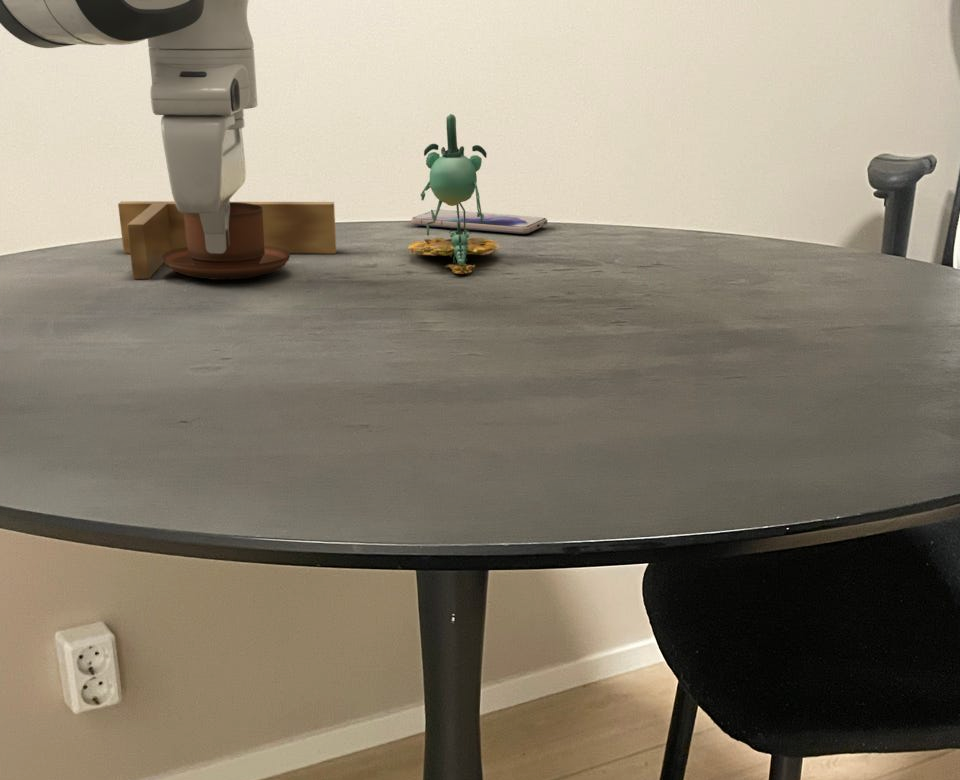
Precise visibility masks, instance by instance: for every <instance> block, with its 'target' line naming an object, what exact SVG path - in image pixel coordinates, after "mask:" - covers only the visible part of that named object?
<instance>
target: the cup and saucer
mask: <svg viewBox="0 0 960 780" xmlns="http://www.w3.org/2000/svg"><path fill="white" fill-rule="evenodd" d="M233 202H234V201H230V217H229V241H230V245H229V247H228V248H227V249H226V251H225V252H224V253H222V254H210V253H209V252H207V250H206V243H205V233H204V230H203V226H202V223H201V219H200V216H199V213H184V220H185V230H186V239H187V247H183V248H178V249H174V250H171V251H168V252H166V253H164V254H163V256H162V257H163V260H164V263H163V264H165V265H167V266H168V268H169V269H171V270H172V271H174V272H176V273H178V274H180V275H181V274H182V275H185V276H189V277H193V278H200V279H207V280H239V279H249V278H254V277H259V276H264V275H268V274H271V273H274V272H276V271H278V270H280V269H281V268H283V267H284V266H285V265H286V264H287V262H288V261H289V260H290V257H291V254H290V253H289V251H287V250H285V249H283V248H279V247H274V246H268V245H264V230H263V210H262V207H261V206H259V205H255V204H249V203H233Z"/></svg>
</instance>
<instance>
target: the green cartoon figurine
mask: <svg viewBox="0 0 960 780" xmlns="http://www.w3.org/2000/svg"><path fill="white" fill-rule="evenodd" d="M445 121H446V141H447V142H446V143H447V149H446V148H445V146H442V147H441V148H440V153H441V154H440V153H438V152H436V151H438V150H439V147H440V146H439V145H438V144H437V143H430V144H428V145H427V146H426V147H425V149H424V151H423V156H424V157H425V156H427V157H426V159H425V165H426V167H427V168H428V169H430V170H429V180H428V182H427V184H426V185H425V186H424V188H423V190H422V192H421V193H420V198H421V201H424V200H425V198H426V191H428V190H429V189H431V192H432V194H433V196H435V198H436V199H437V200H438V202H437V207H436V209H435V210H436V214H435V215H434V213H433V210H434V209H431V210H430V211H431V214H432V219H433V220H434V221H432V222H429V223H427V226H426V236H427V237H430V226H429V225H430V224H433V223H435V221H436V218H437V215H438V212H439V210H441V206H442V204H443V203H444V204H446V205H448V206H450V207H455V206H456V211H457V217H458V221H457V228H456V230H454V229H451V230H450V231H449V237H450V238H444V237H435V238H432V239H430V238H425V239H423V241H418V240H417V241H413V242H411V244H410V245H408V248H407V249H408V250H409V251H410V253H412V254H414V255H416V256H417V255H418V256H421V255H422V256H432V257H437V256H444V257H447V256H450V258H452V257H453V259H452V263H449V264H447V265H446V264H445V265H444V267H445V268H449V269H451V272H452V273H454V274H456V275H464V274H471V273H472V272H473V270H472V269H473V268H475V267H476V264H473V265H472V264H468V263H466V261H468V258H467V256H468V255H473V256H486V255H490V254H494V253H495V252H496V251H497V250H498V249H499V248H500V247H501V244H500V243H497V242H496V240H495V239H485V238H483V237H470V235H471V234H472V232H471V230H470V229H466V228H465V212H466V209H465V207H464V206H463V204H462V203H463V202H467V201H468V200H470V199H471V198H472V196H473V194H474V193H475V199H476V210H477V211H476V212H477V217H480V216H481V219H480V221H483V218H484V215H483V214H482V213H483V212H482V205H481V200H480V197H481V196H480V193H479V188H478V177H477V172H478V171H479V170H480V169H481V167H482V157H481V156H479V155H477V154H475V155H474V154H473V155H471V156H470V157H467V156H466V155H465V147H464V145H461V146H460V147H458V139H457V138H458V137H457V118H456V116H455V115H454V114H452V113H450V114H449V115H447V116H446V120H445ZM433 150H435V151H433ZM431 151H432V152H431ZM471 151H472V152H479V153H480V154H481V155H482V156H483V157H484V158H485V159H487V154H488V153H487V151H486V150H485V149H484V148H483V146H481V145H479V144H475V145H472V146H471ZM460 208H461V210H462V211H463V212H464V229H463V230H462V229H461V228H460V220H459V211H460ZM456 261H457V263H456Z"/></svg>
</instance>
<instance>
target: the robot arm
mask: <svg viewBox="0 0 960 780" xmlns="http://www.w3.org/2000/svg"><path fill="white" fill-rule="evenodd" d="M248 5H249V0H0V25H1V26H2V27H3V28H4V29H5V30H6V31H7V32H8V33H10V34H11V35H12V36H13V37H15V38H16V39H18V40H19V41H21V42H22V43H25V44H27V45H30V46H33V47H36V48H41V49H56V48H63V47H71V46H76V45H87V46H106V45H111V46H112V45H114V46H115V45H116V46H124V45H125V46H127V45H133V44H137V43H140V42H142V41H145V40H147V47H148V56H149V66H150V67H149V68H150V77H151V78H150V79H151V86H150V104H151V110H152V113H153V114H154V115H156V116H161V119H160V129H161V137H162V143H163V149H164V156H165V162H166V169H167V174H168V179H169V184H170V190H171V194H172V199H173V201H174V202H175V204H176V207H177V209H178V211H179V212H182V213H199V216H200V219H201V223H202V226H203V230H204V233H205V243H206V250H207V252H209V253H210V254H222V253H224V252H225V251H226V249H227V248H228V247H229V245H230V241H229V217H230V202H231V199H232V197H233V196H234V195H235V194H236V193H237V192H238V191H239V190H240V189H241V187H243V186H244V184H245V183H246V174H247V173H246V170H247V169H246V158H245V147H244V137H243V129H244V128H245V118H244V117H245V114H244V113H245V112H244V110H248V109H254V108H257V107H258V105H259V104H258V89H257V78H256V77H257V75H256V60H255V59H256V58H255V44H254V40H253V37H252V34H251V31H250V28H249V21H248Z"/></svg>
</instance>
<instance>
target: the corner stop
mask: <svg viewBox="0 0 960 780" xmlns="http://www.w3.org/2000/svg"><path fill="white" fill-rule="evenodd" d="M232 202H233V203H249V204H255V205H259V206H261V207H262V210H263V230H264V245H268V246H274V247H279V248H283V249H285V250H287V251H289V253H290V255H293V254H298V255H299V254H303V255H304V254H305V255H306V254H308V255H309V254H311V255H312V254H313V255H314V254H319V255H321V254H324V255H326V254H330V255H331V254H332V255H333V254H335V255H336V253H337V233H336V211H335V210H336V209H335V207H336V206H335V201H232ZM117 207H118V214H119V215H118V216H119V223H120V232H121V233H120V234H121V240H122V250H123V254H127V255H128V254H130V263H131V273H132V279H133V280H149V279H151V277H152V276H153V275H154V274H155V273H156V271H158V270H159V268H160V267H161V266H162V265H163V264H165V263H164V260H163V257H162V256H163V254H164V253H166V252H168V251H171V250H174V249H178V248H183V247H187V239H186V230H185V220H184V213H182V212H179V211H178V209H177V207H176V204H175V201H174V200H173V201H171V200H170V201H169V200H168V201H161V200H160V201H159V200H158V201H157V200H154V201H153V200H152V201H148V200H147V201H143V200H141V201H139V200H135V201H134V200H133V201H131V200H130V201H129V200H127V201H126V200H125V201H124V200H122V201H120V202H118V203H117Z"/></svg>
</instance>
